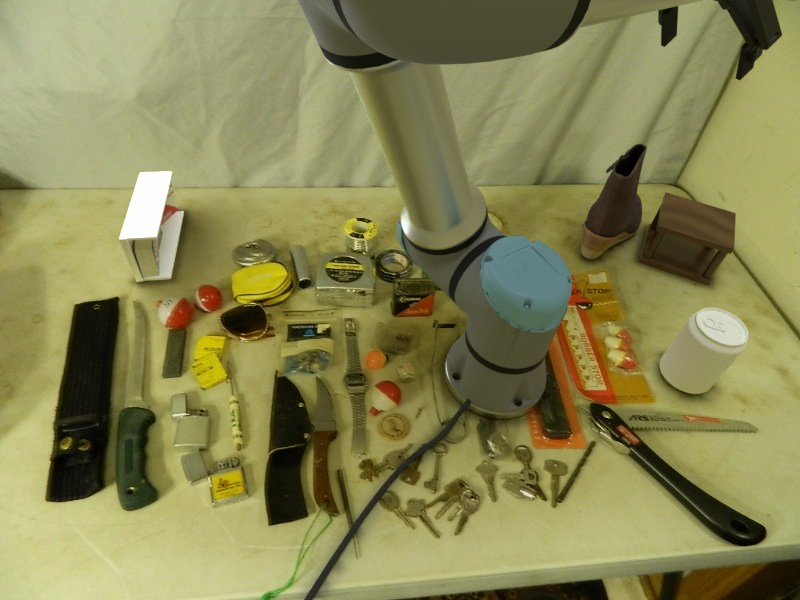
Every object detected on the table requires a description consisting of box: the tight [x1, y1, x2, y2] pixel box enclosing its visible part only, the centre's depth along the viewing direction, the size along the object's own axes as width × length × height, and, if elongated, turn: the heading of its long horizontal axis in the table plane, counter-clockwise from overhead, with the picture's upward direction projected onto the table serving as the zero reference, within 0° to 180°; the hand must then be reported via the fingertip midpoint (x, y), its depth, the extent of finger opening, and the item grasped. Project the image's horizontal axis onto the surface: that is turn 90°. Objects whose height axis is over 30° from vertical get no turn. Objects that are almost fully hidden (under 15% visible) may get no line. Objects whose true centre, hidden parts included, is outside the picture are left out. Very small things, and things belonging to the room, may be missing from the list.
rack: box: [638, 191, 737, 286], centre depth 101 cm, size 12×13×9 cm
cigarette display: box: [118, 171, 185, 283], centre depth 93 cm, size 20×6×9 cm, turn 9°
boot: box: [580, 143, 648, 260], centre depth 101 cm, size 9×24×20 cm, turn 143°
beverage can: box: [658, 307, 750, 395], centre depth 80 cm, size 8×8×12 cm
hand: (704, 56), depth 84 cm, fingers open, 13 cm apart
